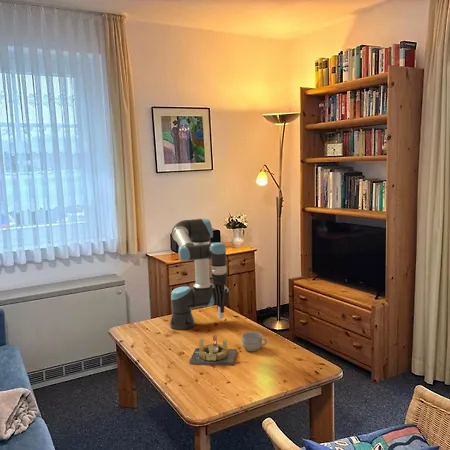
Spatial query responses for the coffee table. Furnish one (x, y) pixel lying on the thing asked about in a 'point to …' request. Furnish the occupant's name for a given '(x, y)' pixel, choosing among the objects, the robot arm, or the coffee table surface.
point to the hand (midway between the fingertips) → (221, 318)
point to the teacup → (252, 341)
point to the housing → (225, 361)
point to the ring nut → (209, 348)
